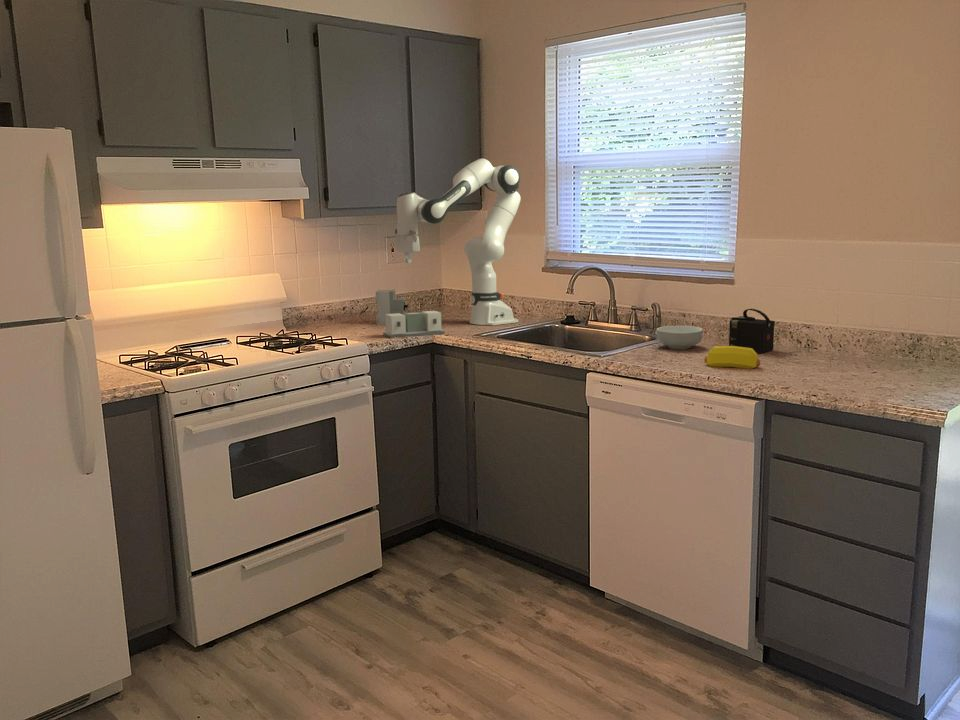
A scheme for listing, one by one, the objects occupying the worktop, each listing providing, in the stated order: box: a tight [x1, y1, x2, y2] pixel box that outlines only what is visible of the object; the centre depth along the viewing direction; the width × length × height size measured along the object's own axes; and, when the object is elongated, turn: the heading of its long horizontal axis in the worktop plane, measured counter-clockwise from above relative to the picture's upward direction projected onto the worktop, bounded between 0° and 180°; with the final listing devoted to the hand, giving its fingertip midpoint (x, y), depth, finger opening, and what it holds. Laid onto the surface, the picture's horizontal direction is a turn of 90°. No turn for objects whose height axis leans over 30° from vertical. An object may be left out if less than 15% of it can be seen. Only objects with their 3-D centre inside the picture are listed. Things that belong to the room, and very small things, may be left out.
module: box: [404, 311, 424, 332], centre depth 347 cm, size 7×5×8 cm
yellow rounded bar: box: [703, 345, 761, 370], centre depth 270 cm, size 18×7×8 cm
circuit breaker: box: [374, 289, 409, 325], centre depth 381 cm, size 8×14×15 cm, turn 89°
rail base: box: [382, 310, 446, 339], centre depth 347 cm, size 24×10×9 cm, turn 114°
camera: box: [728, 308, 776, 354], centre depth 298 cm, size 11×14×15 cm
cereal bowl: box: [656, 325, 704, 350], centre depth 307 cm, size 17×17×7 cm
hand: (408, 262), depth 358 cm, fingers closed
